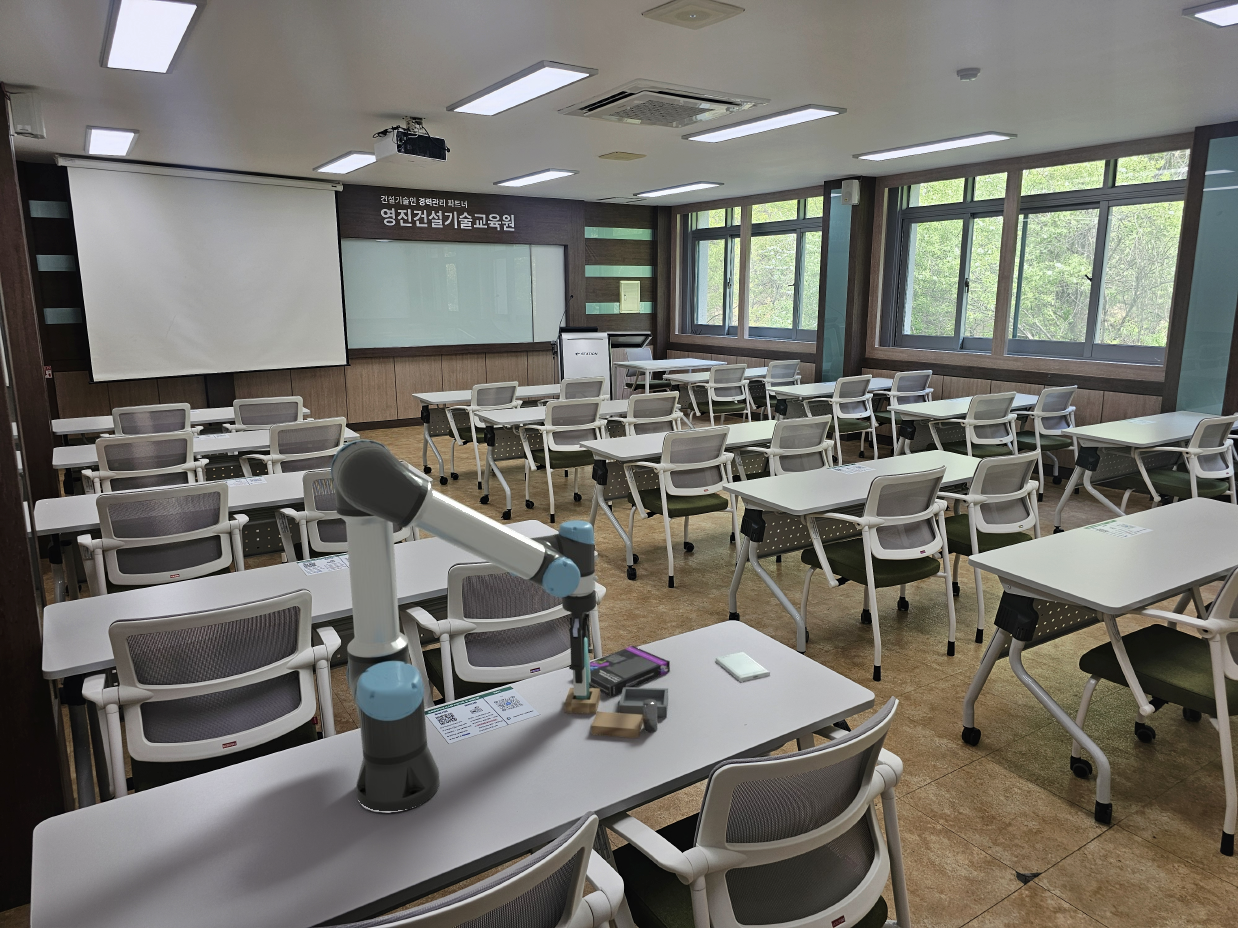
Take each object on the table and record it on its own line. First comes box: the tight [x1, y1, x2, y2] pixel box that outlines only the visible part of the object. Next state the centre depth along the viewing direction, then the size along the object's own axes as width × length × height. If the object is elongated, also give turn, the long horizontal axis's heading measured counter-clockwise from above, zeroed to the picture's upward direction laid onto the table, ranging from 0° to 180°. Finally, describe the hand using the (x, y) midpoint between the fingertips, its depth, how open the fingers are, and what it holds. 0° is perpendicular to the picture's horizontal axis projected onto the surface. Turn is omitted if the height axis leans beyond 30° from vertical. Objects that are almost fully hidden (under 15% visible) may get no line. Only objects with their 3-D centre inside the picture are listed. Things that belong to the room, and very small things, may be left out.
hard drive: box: [715, 651, 771, 683], centre depth 195 cm, size 2×8×12 cm
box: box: [589, 645, 671, 698], centre depth 193 cm, size 14×4×20 cm
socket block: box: [564, 687, 601, 715], centre depth 178 cm, size 7×7×2 cm
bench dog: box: [642, 699, 658, 733], centre depth 167 cm, size 3×3×6 cm
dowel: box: [576, 637, 590, 700], centre depth 177 cm, size 3×3×16 cm
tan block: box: [590, 710, 643, 739], centre depth 168 cm, size 10×6×2 cm, turn 79°
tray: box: [618, 687, 669, 718], centre depth 177 cm, size 10×8×3 cm
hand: (582, 687), depth 178 cm, fingers open, 6 cm apart
